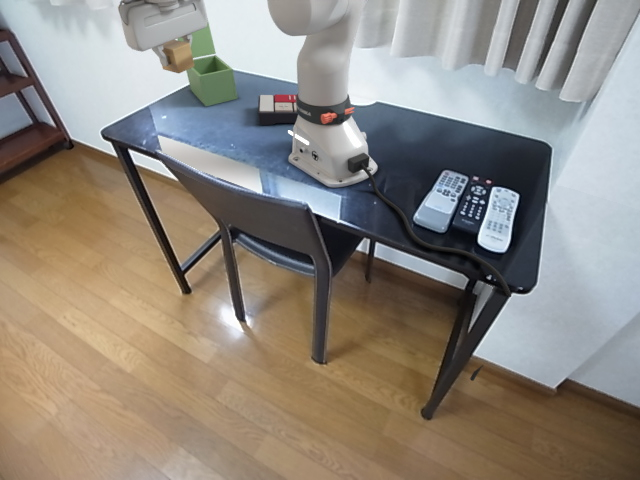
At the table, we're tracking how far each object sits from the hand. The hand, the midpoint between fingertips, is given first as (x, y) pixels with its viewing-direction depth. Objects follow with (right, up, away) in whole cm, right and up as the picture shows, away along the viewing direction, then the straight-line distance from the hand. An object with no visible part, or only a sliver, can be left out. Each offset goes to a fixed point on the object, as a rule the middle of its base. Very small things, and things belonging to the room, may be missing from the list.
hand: (177, 60), depth 84 cm
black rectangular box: (+23, -5, +22) cm, 32 cm away
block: (0, -1, +1) cm, 2 cm away
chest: (-1, +5, +32) cm, 32 cm away
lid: (-5, +21, +25) cm, 33 cm away
